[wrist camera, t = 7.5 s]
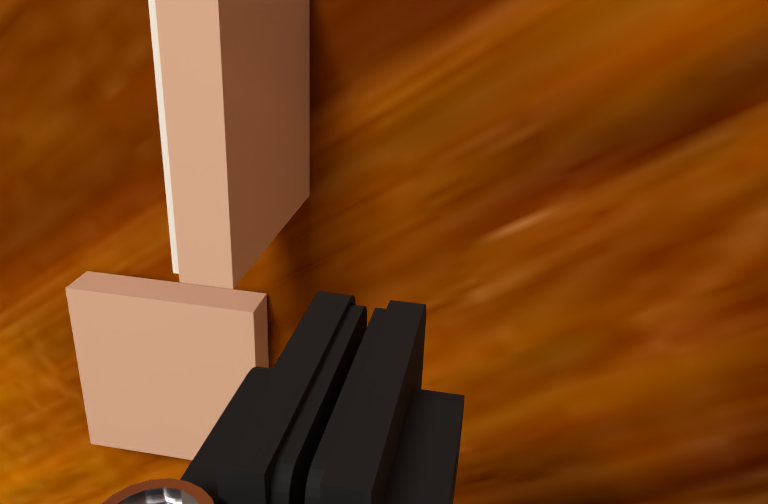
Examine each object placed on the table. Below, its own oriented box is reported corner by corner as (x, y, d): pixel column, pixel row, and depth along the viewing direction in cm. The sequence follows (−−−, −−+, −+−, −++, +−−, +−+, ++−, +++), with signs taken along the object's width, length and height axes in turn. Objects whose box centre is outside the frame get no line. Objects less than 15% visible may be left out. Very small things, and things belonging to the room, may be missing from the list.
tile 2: (269, 290, 33) (91, 268, 34) (253, 312, 31) (65, 287, 32) (273, 442, 37) (112, 417, 38) (259, 470, 35) (91, 443, 36)
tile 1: (255, -32, 27) (141, -18, 19) (309, -29, 27) (217, -13, 19) (262, 190, 31) (169, 280, 23) (309, 195, 30) (233, 289, 22)
